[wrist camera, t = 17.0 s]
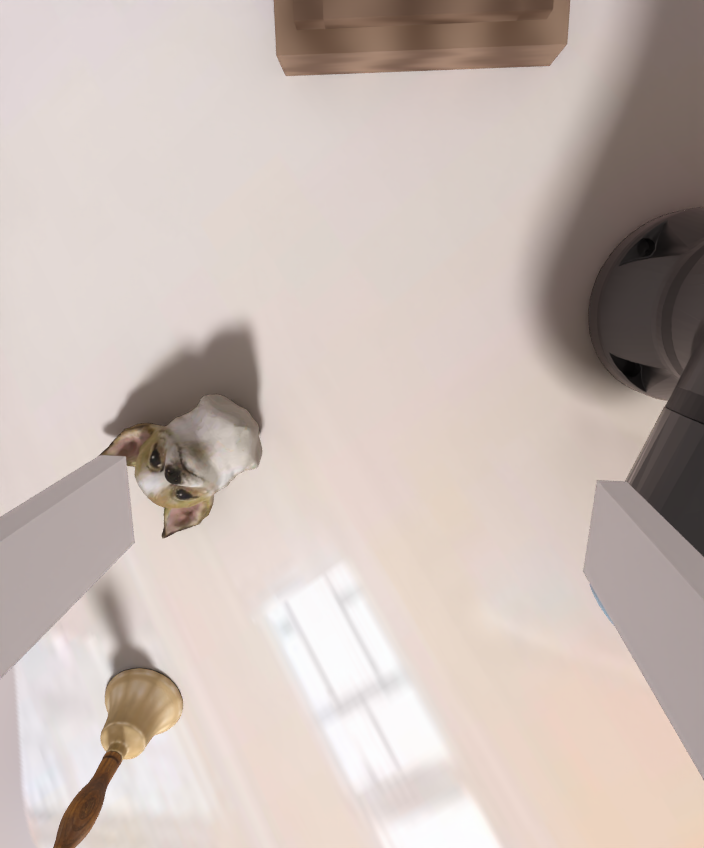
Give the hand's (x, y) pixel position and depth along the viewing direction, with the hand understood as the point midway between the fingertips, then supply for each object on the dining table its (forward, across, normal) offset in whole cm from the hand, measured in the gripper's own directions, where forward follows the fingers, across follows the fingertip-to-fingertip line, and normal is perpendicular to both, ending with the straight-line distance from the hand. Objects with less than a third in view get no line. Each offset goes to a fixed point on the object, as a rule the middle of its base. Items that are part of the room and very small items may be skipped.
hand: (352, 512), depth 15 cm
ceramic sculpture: (+33, -17, -10) cm, 38 cm away
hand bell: (+32, -24, -38) cm, 55 cm away
